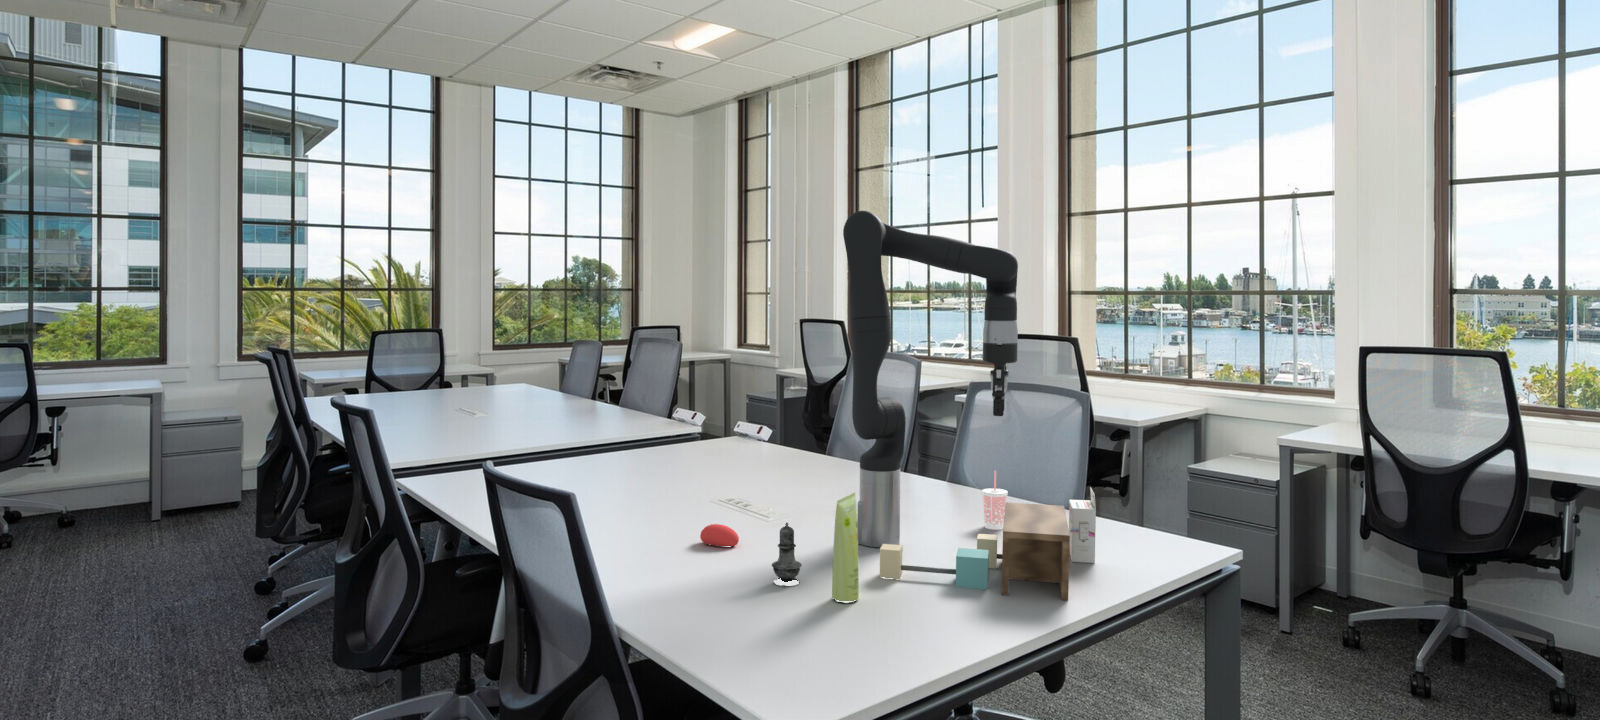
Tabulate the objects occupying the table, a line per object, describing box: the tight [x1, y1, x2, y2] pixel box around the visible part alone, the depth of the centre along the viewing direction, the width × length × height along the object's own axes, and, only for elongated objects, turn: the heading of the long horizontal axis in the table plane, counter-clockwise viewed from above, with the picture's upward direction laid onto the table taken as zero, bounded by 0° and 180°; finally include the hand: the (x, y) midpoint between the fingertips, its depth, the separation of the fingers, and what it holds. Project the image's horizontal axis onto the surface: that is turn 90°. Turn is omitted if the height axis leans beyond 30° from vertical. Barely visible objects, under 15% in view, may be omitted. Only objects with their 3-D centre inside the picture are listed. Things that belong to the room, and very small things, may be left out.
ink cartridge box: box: [1068, 487, 1097, 564], centre depth 190 cm, size 9×5×15 cm, turn 168°
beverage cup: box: [981, 470, 1009, 530], centre depth 215 cm, size 6×6×14 cm
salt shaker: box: [771, 522, 803, 582], centre depth 172 cm, size 6×6×12 cm
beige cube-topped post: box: [976, 533, 1002, 569], centre depth 183 cm, size 15×6×6 cm, turn 76°
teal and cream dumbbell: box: [879, 544, 990, 590], centre depth 174 cm, size 21×6×6 cm, turn 76°
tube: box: [831, 491, 860, 601], centre depth 162 cm, size 6×5×20 cm
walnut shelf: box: [1001, 501, 1070, 601], centre depth 175 cm, size 12×24×12 cm, turn 166°
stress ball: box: [699, 523, 740, 547], centre depth 198 cm, size 5×9×6 cm, turn 53°
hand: (998, 413), depth 197 cm, fingers open, 8 cm apart
